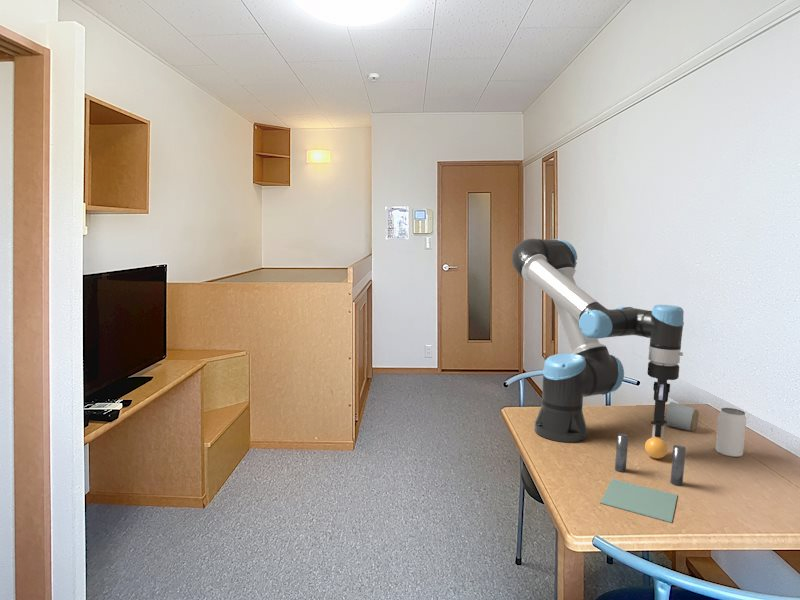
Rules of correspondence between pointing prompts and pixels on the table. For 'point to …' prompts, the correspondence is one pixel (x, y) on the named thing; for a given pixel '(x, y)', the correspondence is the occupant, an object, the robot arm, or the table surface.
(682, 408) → the grey lying cylinder
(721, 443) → the can
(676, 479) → the post right
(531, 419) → the table surface
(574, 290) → the robot arm
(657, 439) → the ball
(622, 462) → the post left
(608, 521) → the table surface
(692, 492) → the table surface
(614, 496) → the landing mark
